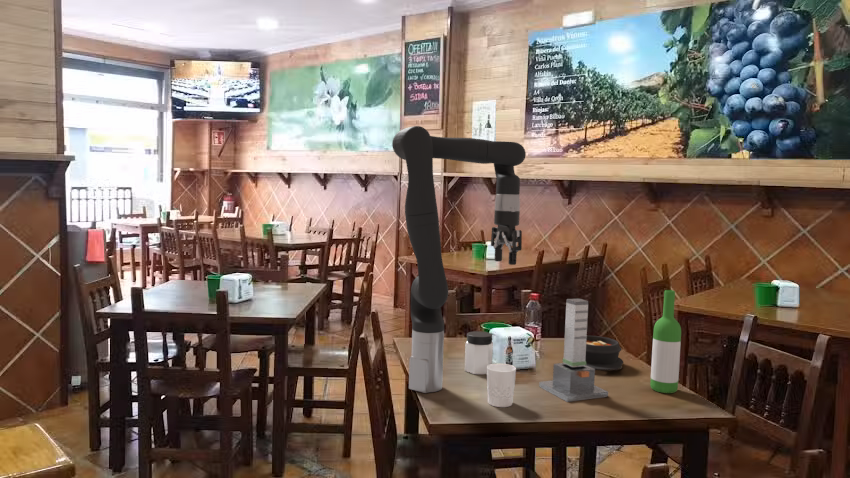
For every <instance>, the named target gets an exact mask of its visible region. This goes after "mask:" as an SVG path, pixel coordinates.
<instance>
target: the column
mask: <svg viewBox="0 0 850 478" xmlns="http://www.w3.org/2000/svg"><path fill="white" fill-rule="evenodd" d="M565 305H566V306H565V321H564V322H565V324H564V343H563V344H564V345H563V358H562V363H564V364H566V365H568V366H571V367H581V366H585V365H586V361H585V358H586V338H587V336H588V335H587V334H588V333H587V332H588V318H589V317H588V316H589V300H586V299H582V298H567V299H566V303H565Z"/></svg>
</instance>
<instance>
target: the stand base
mask: <svg viewBox="0 0 850 478" xmlns="http://www.w3.org/2000/svg"><path fill="white" fill-rule="evenodd" d="M552 369H553V370H552V371H553V372H552V373H553V375H552V380H551V379H550V380H545V381H539V382H538V383H539V384H538V385H539V386H538V387H539V388H541V389H542V390H543V391H544V390H545V391H546V392H547V393H550V394H552V395H553V396H556V397H558V398H559V399H561V400H563V401H565V402H567V403H571V402H577V401H585V400H592V399H594V400H595V399H601V398H608V397H609V391H608V390H607V389H606V390H605V389H603V388H601V387H600V386H597V385H595V378H596V370H595V369H593V368H591V367H589V366H586V365H585V366H581V367H571V366H568V365H566V364H564V363H563V362H561V363H560V362H559V363H558V362H557V363H553V368H552Z"/></svg>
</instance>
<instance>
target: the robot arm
mask: <svg viewBox="0 0 850 478" xmlns="http://www.w3.org/2000/svg"><path fill="white" fill-rule="evenodd" d="M391 146H392V150H393V152H394V154H395V155H396V156H397V157H398V158H400V159H402V160H404V161H405V163H406V169H407V180H408V181H407V191H406V195H405V202H404V203H405V204H404V215H405V223H406V231H407V234H408V239H409V242H410V245H411V247H412V251H413V252H414V256H415V260H416V264H417V265H416V266H417V273H418V274H417V276H416V277H415V278H414V279H413V281H412V284H411V287H410V318H411V323H412V324H411V325H412V327H411V329H412V330H411V331H412V333H411V356H409V364H408V365H409V367H408V368H409V371H408V389H409V390H412V391H416V392H420V393H423V394H427V393H434V392H439V391H441V390H442V389H443V378H444V377H443V376H444V375H443V374H444V373H443V371H444V343H445V342H444V341H445V321H444V320H445V319H444V318H443V315H442V314H443V313H442V307H443V306H444V305H445V303H446V302H447V300H448V296H449V285H448V282H447V277H446V273H445V268H444V263H443V256H442V255H443V254H442V243H441V233H440V219H439V213H438V205H437V197H436V195H437V194H436V188H435V182H434V181H435V180H434V171H433V170H434V167H433V166H434V163H433V162H434V161H433V160H434V159H440V160H450V161H456V162H457V161H458V162H464V163H471V164H472V163H473V164H474V163H475V164H486V165H487V164H493V167H494V174H495V178H496V186H495V187H496V188H495V189H496V190H495V199H494V218H493V223H494V225H496V226H495V227H494V226H492V228H491V238H490V239H491V240H490V246H491V247H493V249H494V261H495V262H502V260H503V246H504V245H505V246H506V247H507V248H508V251H509V252H508V265H511V266H516V264H517V255H518V252H519V251H522V250H523V249H522V247H523V245H522V239H523V236H522V235H523V234H522V233H523V231H522V230H520V229H519V230H518V229H516V227H517V226H519V225H520V211H521V199H520V195H521V194H520V189H521V188H520V187H521V179H520V176H519V175H517V174H515V167H516V166H520V165H521V164H522V163H523V162H524V160H525V159H526V154H527V152H526V149H525V148H524V146H523V145H522V144H520V143H519V142H515V141H501V140H498V141H497V140H496V141H495V140H488V139H482V138H473V137H443V136H434V135H431V134H430V132H429V131H428V129H426V128H424V127H423V126H420V125H414V126H409V127H405V128H403V129H400V131H398V132H397V133H395V135H394V136H393V138H392V142H391Z"/></svg>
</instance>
